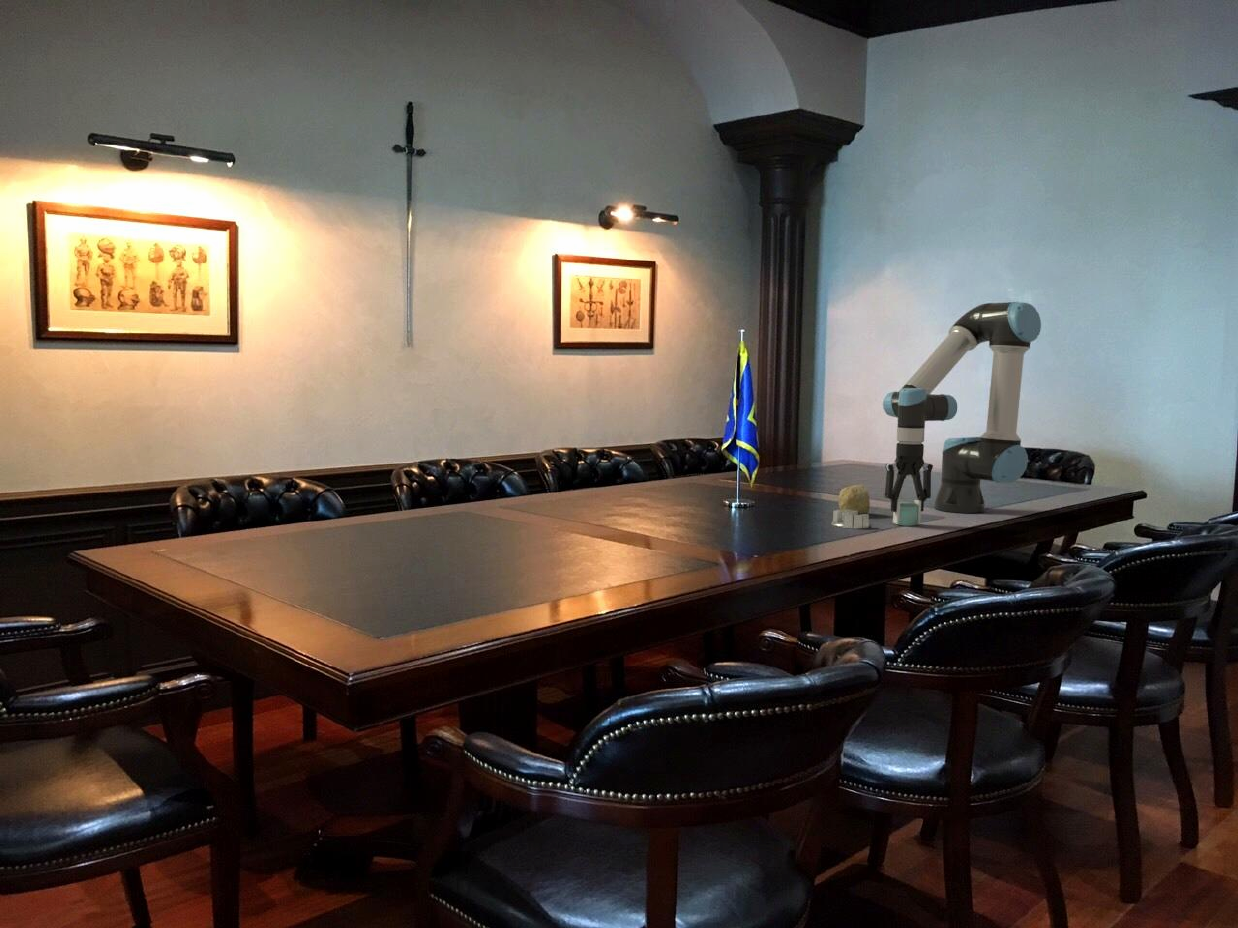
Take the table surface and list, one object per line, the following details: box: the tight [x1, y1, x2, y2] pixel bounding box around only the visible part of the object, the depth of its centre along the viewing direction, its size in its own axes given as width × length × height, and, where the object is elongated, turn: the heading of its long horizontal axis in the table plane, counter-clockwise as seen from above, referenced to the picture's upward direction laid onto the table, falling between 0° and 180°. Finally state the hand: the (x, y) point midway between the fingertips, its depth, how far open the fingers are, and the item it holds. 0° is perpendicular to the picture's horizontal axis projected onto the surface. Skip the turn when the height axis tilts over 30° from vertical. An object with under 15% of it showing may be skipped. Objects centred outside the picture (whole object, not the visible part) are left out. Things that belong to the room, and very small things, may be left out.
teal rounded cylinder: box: [897, 501, 918, 527], centre depth 296 cm, size 6×6×6 cm
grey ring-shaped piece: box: [831, 509, 870, 530], centre depth 294 cm, size 10×10×4 cm
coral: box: [838, 483, 871, 515], centre depth 312 cm, size 10×10×10 cm
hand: (906, 522), depth 297 cm, fingers closed on teal rounded cylinder, 6 cm apart
